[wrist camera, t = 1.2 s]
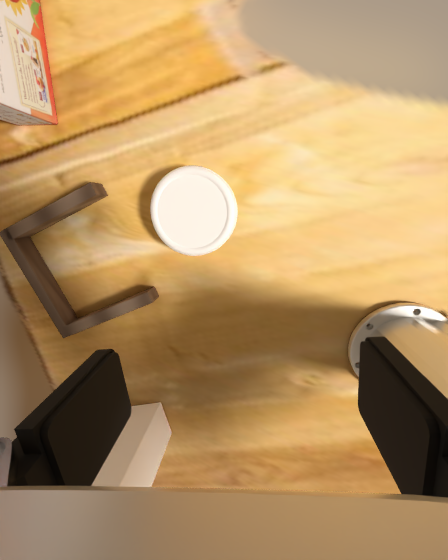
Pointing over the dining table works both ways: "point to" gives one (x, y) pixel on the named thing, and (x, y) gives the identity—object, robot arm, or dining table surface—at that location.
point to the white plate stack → (193, 210)
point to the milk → (137, 449)
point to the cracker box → (24, 65)
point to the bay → (41, 275)
